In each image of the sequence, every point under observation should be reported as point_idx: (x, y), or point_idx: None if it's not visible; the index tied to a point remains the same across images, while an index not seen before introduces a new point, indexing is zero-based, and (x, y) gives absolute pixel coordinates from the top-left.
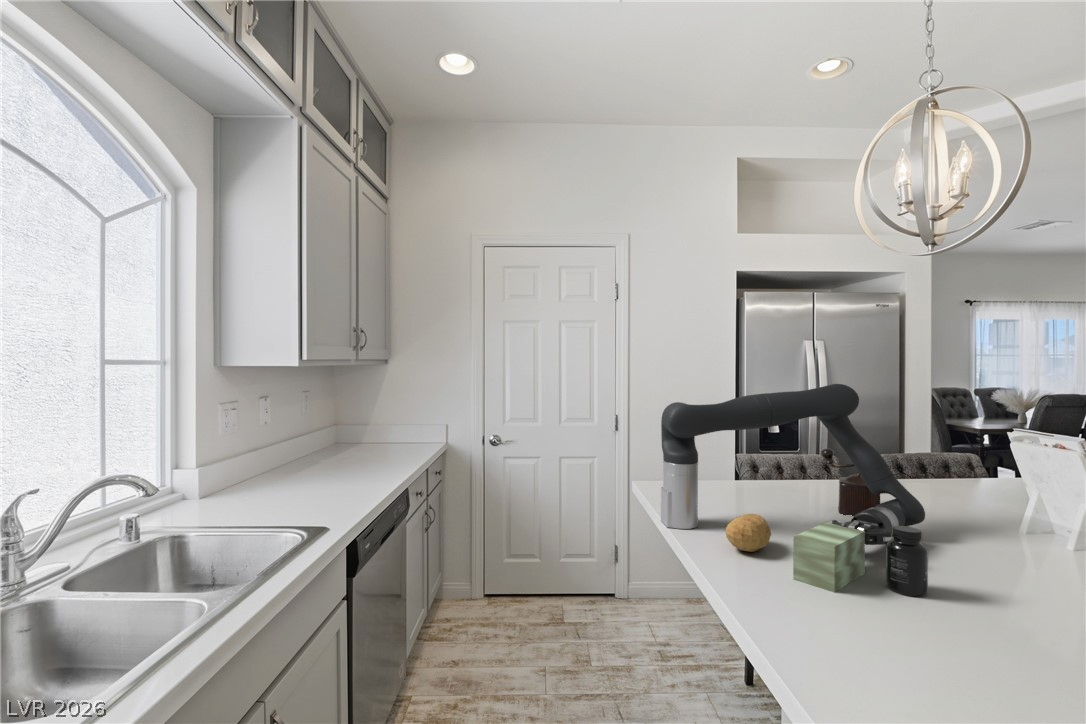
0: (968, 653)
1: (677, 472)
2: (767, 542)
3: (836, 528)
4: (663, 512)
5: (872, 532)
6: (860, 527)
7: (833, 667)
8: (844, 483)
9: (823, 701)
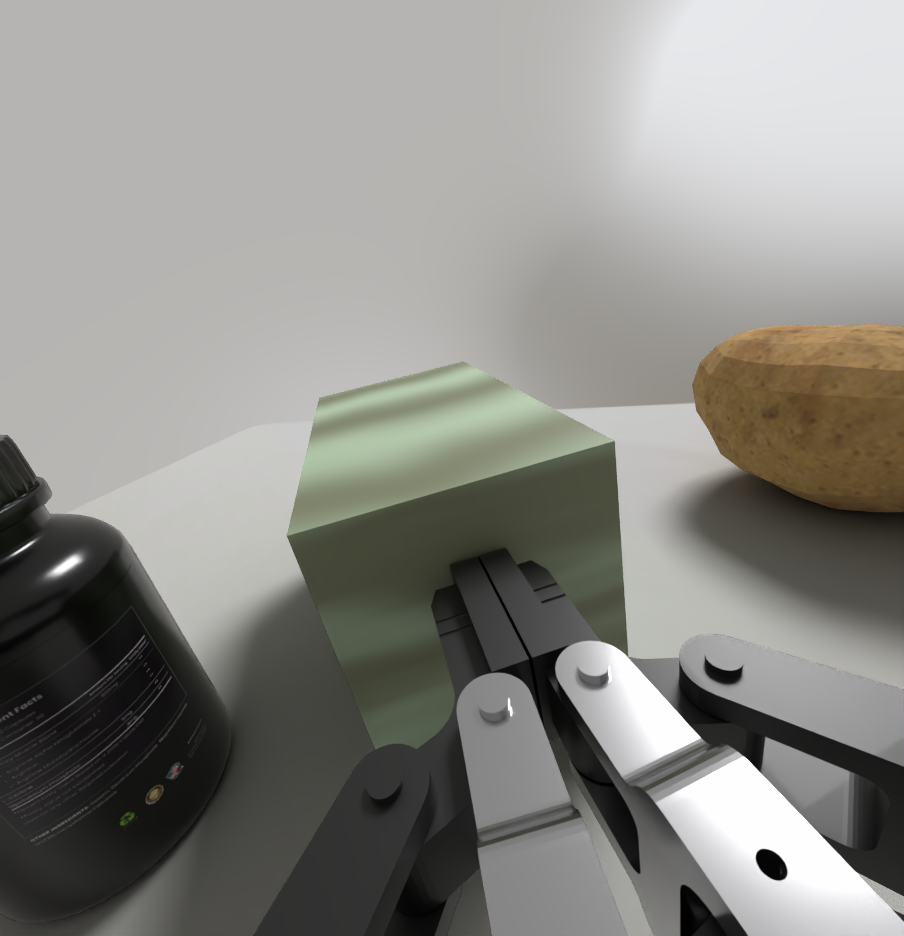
0: None
1: None
2: (791, 477)
3: (456, 444)
4: None
5: (336, 927)
6: (547, 830)
7: (260, 448)
8: None
9: (252, 431)
